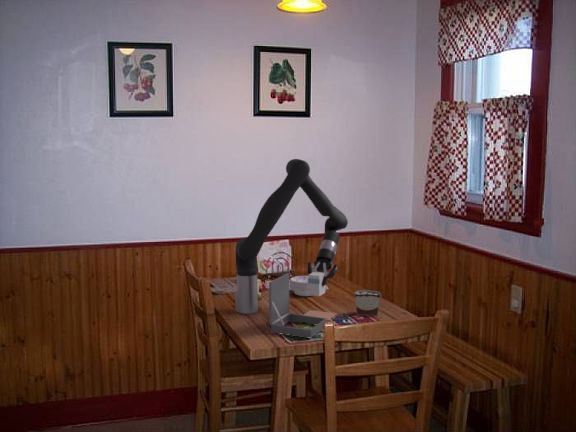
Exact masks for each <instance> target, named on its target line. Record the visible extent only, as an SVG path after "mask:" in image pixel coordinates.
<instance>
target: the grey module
mask: <svg viewBox="0 0 576 432" xmlns="http://www.w3.org/2000/svg"><path fill="white" fill-rule="evenodd" d="M324 274H325V273H324V272H317V271H316V272H313V273H311V274H309V275H308V276H309V278H308V283H309V295H312V296H314V297H320V296H323V294H325V293H326V285H324V286H322V281H323V277H324Z"/></svg>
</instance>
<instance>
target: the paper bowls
mask: <svg viewBox="0 0 576 432" xmlns="http://www.w3.org/2000/svg"><path fill="white" fill-rule="evenodd" d="M308 278H309V275H296V276H292V277H291V278H289V290H291V291H293V292H294V294H295V295H296V296H299V297H311V296H312V295H309V283H308Z"/></svg>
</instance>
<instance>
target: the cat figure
mask: <svg viewBox="0 0 576 432" xmlns="http://www.w3.org/2000/svg"><path fill="white" fill-rule="evenodd" d="M257 280H258V301H261V300H263V297H262V293H261V292H264V291H265V290H267V289H266V288H267V286H266V283H263V281H261V279H259V278H257ZM259 289H261V292H259V291H260V290H259Z"/></svg>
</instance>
